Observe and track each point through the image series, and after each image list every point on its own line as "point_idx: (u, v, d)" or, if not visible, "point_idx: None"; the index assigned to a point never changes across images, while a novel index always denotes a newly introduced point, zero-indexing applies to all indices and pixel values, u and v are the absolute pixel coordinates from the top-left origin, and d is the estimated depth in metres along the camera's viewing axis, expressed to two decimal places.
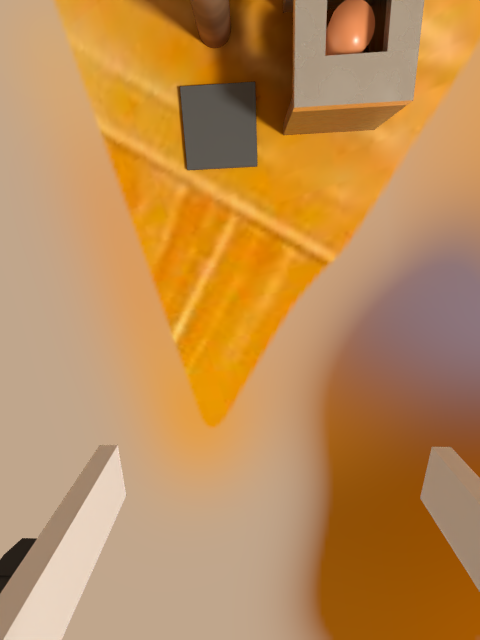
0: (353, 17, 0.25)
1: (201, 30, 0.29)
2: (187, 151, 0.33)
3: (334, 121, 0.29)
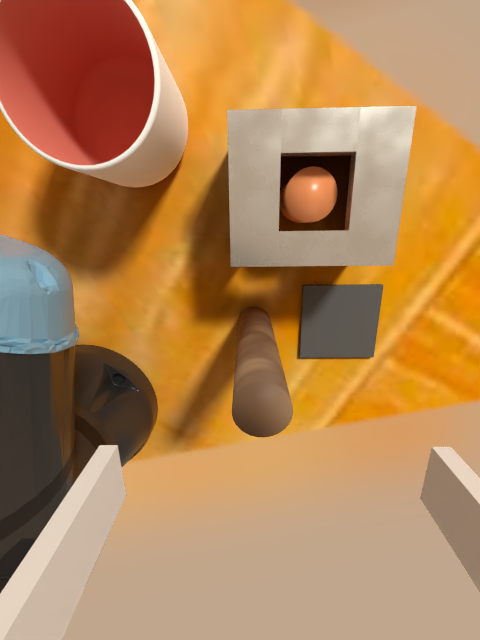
0: (302, 194, 0.22)
1: None
2: (356, 355, 0.32)
3: None
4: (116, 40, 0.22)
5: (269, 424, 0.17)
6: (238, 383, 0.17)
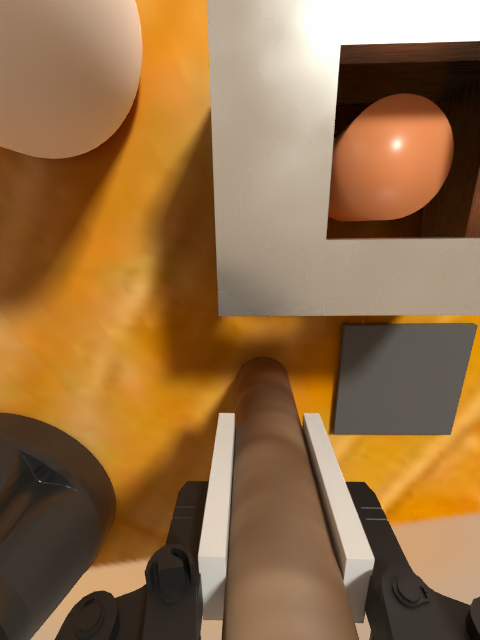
0: (376, 158, 0.10)
1: None
2: (423, 432, 0.20)
3: None
4: None
5: None
6: None
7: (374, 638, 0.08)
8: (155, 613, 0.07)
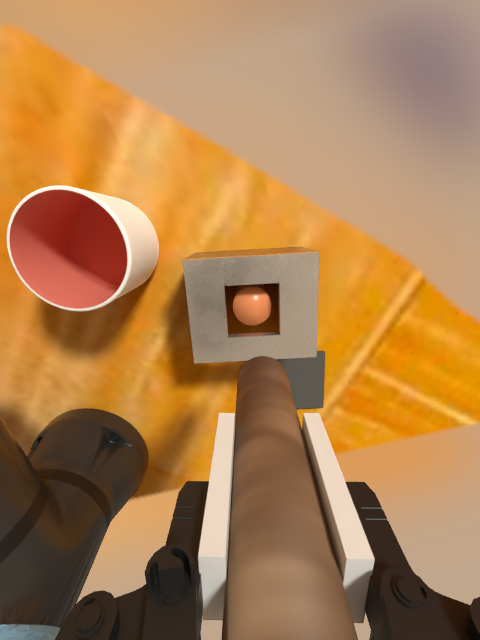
0: (245, 306, 0.29)
1: None
2: (309, 407, 0.39)
3: None
4: None
5: None
6: None
7: (374, 638, 0.08)
8: (155, 613, 0.07)
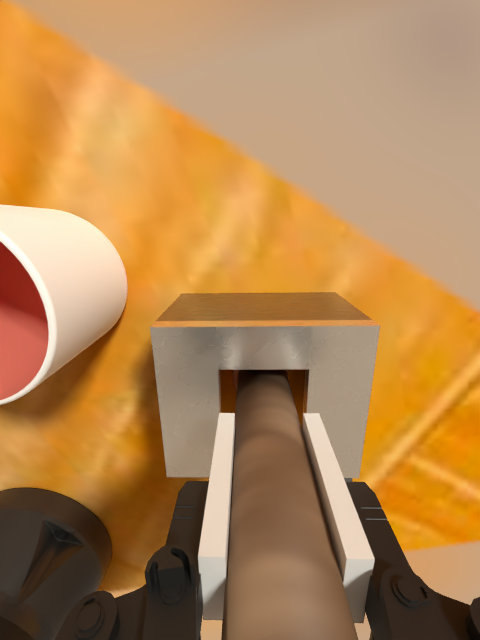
0: None
1: None
2: None
3: None
4: None
5: None
6: None
7: (374, 638, 0.08)
8: (155, 613, 0.07)
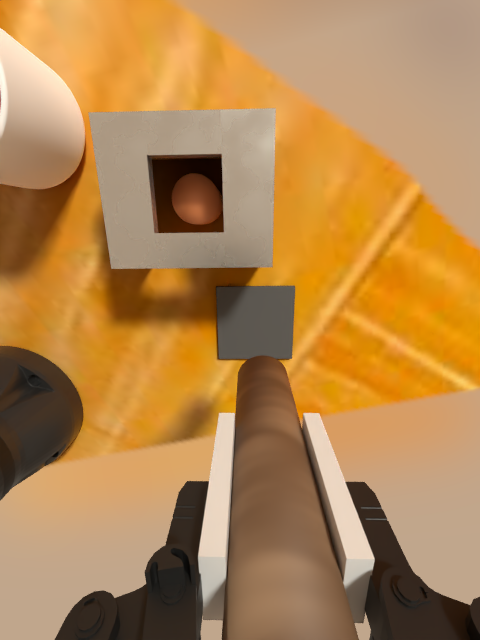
0: (187, 198, 0.24)
1: None
2: (274, 357, 0.32)
3: None
4: None
5: None
6: None
7: (374, 638, 0.08)
8: (155, 613, 0.07)
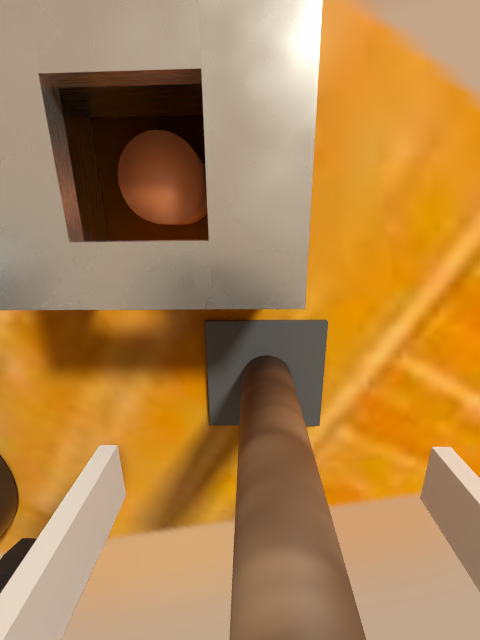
0: (146, 177, 0.13)
1: None
2: None
3: None
4: None
5: None
6: None
7: None
8: None
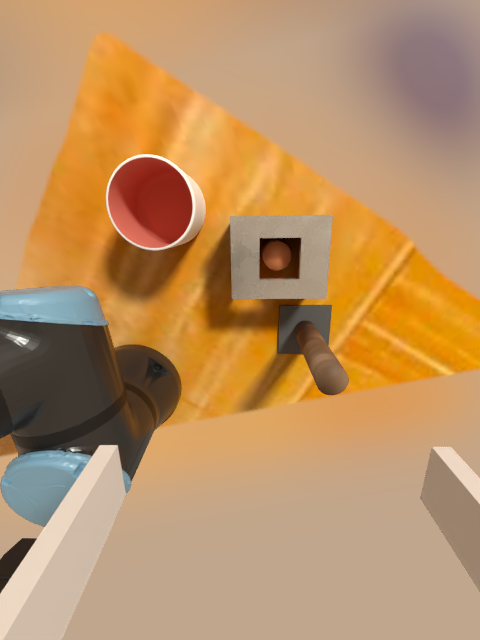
0: (272, 255, 0.39)
1: None
2: None
3: None
4: (165, 168, 0.37)
5: (335, 388, 0.32)
6: (317, 366, 0.33)
7: None
8: None
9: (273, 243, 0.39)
